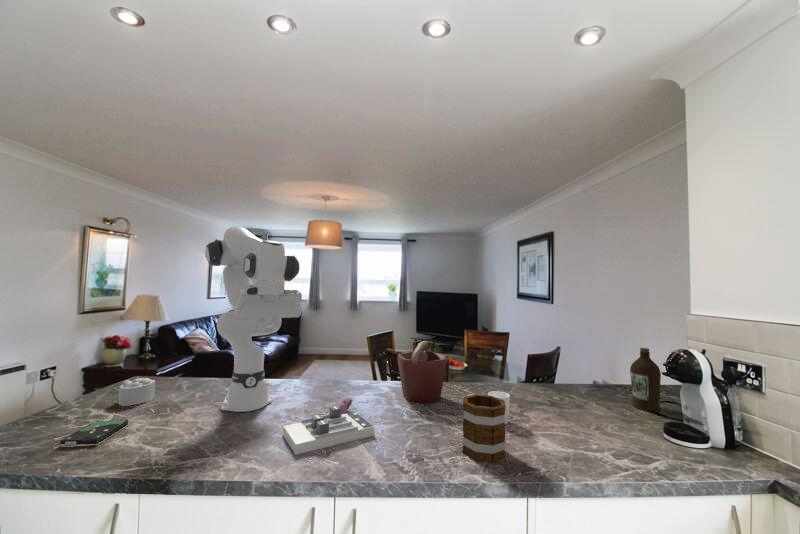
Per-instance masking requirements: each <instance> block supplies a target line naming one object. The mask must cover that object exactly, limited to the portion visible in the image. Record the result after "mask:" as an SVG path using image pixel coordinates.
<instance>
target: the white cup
mask: <svg viewBox="0 0 800 534" xmlns="http://www.w3.org/2000/svg"><path fill="white" fill-rule="evenodd" d="M487 396H493V397H496V398H499V399H501V400H504V401H505V406H506V408H505V425H508V424H509V415H510V401H511V400H510V399H511V396H510V393H507V392H504V391H500V390H499V391H498V390H492V391H491V390H490V391H489V392H487Z"/></svg>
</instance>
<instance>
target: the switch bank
mask: <svg viewBox="0 0 800 534" xmlns="http://www.w3.org/2000/svg"><path fill="white" fill-rule="evenodd" d="M322 416H323V417H324V420H326V421H327V422H328V423H329V433H325V434H320V435H318V434H317V433H316V429H313V428H312V427H311V425H312V416H311V417H306V418H301V422H296V423H291V424H285V425H283V427H282V428H283V429H282V435H283V438H284V439H285V440H286V442H287V444H288V446H289V447H290V449H291V450H292V451H293V454H294V455H295V456H297V455H301V454H305V453H309V452H314V451H317V450H320V449H325V448H329V447H334V446H337V445H340V444H346V443H349V442H353V441H354V442H355V441H357V440H361V439H364V438H369V437H374V436H375V426H374V425H373V424H372V423H371V422H370V421H368V420H367V419H366V418H364V417H363V416H362V415H361V414H359V413H358V412H356V411H352V412H346V413H344V414H341V417H339V418H334V419H331V418H330V413H329V414H322Z"/></svg>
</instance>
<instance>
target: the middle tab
mask: <svg viewBox="0 0 800 534" xmlns="http://www.w3.org/2000/svg"><path fill="white" fill-rule="evenodd" d="M322 415H323V414H322ZM322 415H321V414H316V415H312V416H311V417H312V425H311V427H312V428H313V429H316V424H317V422H318V421H321V420H322V421H323V420H324V417H323V416H322Z"/></svg>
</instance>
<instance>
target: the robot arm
mask: <svg viewBox="0 0 800 534" xmlns="http://www.w3.org/2000/svg"><path fill="white" fill-rule="evenodd" d="M284 245H285V244H284V243H282V242H280V241H276V240H275V241H274V240H262V239H260V238H259V237H257V236H256V235H254V234H253V233H251V231H249V230H248V229H246V228H245V227H242V226H235V225H234V226H231V227H229V228H227V229H226V230H225V232H224V233H223V239H215V240H214V241H211V242H209V243H208V244H207V245H206V246H205V249H204V256H205V259H206V261H207V262H208V265H210V266H213V267H220V266H225V267H224V268H223V271H222V275H223V276H222V277H223V278H222V279H223V284H224V288H225V290H224V291H225V293H226V295H227V300H228V303H229V304H230V306H232V307H233V308H234V310H230V311H227V312H226V311H225V312H222V313H221V314H220V315H219V317H218V319H217V321H216V329H217V332H218V335H220V336H221V337H222V338H224V339H225V340H226V341H227V342H228V343H229V344H230V345H231V349H232V351H233V360H234V362H233V364H234V365H233V371H232V375H231V378H232V379H231V380H232V382H231V384H230V385H229V387H228V388H225V395H226V396H225V397H224V400H223V402H222V405H221V407H220V409H221V411H230V412H234V413H235V412H236V413H237V412H238V413H242V412H251V411H256V410H259V409H262V408H264V407H265V406H266V405H269V404H271V403H272V402H273V400H272V399H271V398H270V397H269V383H268V382H267V381H266V380H265V373H266V372H265V369H264V365H265V364H264V361H265V352H264V349H263V348H262V347H260V346H258V345H257V344H255V343H253V340H252V339H253V338H252V337H258V336H266V335H270V334H273V333H276V332H278V331H279V329H280V328H281V326H282V319H284V318H285V319H289V318H290V319H291V318H300V317H301V315H302V304H301V302H302V298H303V295H302V294H303V293H301V292H300V291H299V290H298V289H285V285H286V283H285V282H291V281H292V280H294V279H295V278H297V276H298V274H299V273H300V262H299V260H298V258H297V257H296V256H295V255H294V253H286V250H285V246H284ZM252 280H255V284H254V283H253V281H252Z"/></svg>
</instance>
